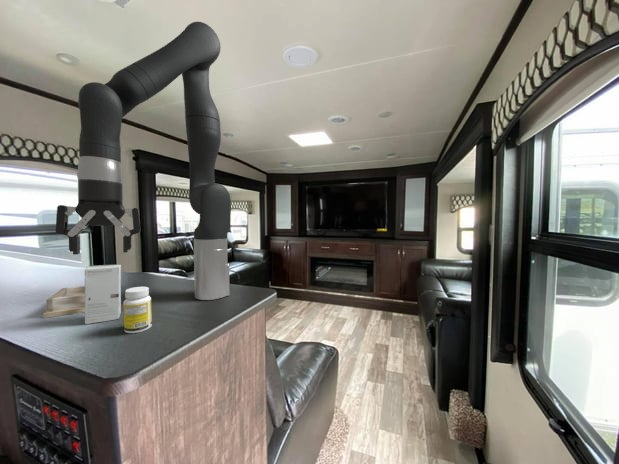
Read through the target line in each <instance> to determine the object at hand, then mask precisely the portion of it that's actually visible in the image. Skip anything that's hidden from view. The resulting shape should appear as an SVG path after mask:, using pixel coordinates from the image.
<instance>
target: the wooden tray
mask: <svg viewBox="0 0 619 464" xmlns="http://www.w3.org/2000/svg"><path fill="white" fill-rule="evenodd" d="M45 303H46V304H45V305H46V308H45V309H46V310H45V311H44V312H43V313H42V319H45V318H54V317H61V316H68V315H74V314H82V313H85V285H81V286H71V287H62V288H61V289H60V290H58V291H57V292H55V293H54V294H52V295H51V296H50V297H47V299H45Z"/></svg>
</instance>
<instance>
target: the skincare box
mask: <svg viewBox="0 0 619 464" xmlns="http://www.w3.org/2000/svg"><path fill="white" fill-rule="evenodd" d="M121 285H122V265H121V264H120V263H119V264H102V265H101V264H99V265H88V266H87V267H86V268H85V269H84V286H85V312H84V324H85V325H89V324H94V323H102V322H110V321H115V320H119V318H120V316H121V312H122V304H121V303H122V298H121V297H122V289H121V287H122V286H121Z"/></svg>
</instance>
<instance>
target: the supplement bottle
mask: <svg viewBox="0 0 619 464" xmlns="http://www.w3.org/2000/svg"><path fill="white" fill-rule="evenodd" d="M124 292H125V293H124V297H125V299H124V300H123V302H122V304H123V326H124V327H123V329H124V330H123V331H124V332H125V333H127V334H138V333H142V332H145V331H147V330H149V329H150V328H152V326H153V315H152V297H151V296H150V294H149V293H150V288H149V287H148V286H135V287H134V286H133V287H129V288H126V290H125V291H124Z"/></svg>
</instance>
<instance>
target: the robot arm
mask: <svg viewBox="0 0 619 464" xmlns="http://www.w3.org/2000/svg"><path fill="white" fill-rule="evenodd" d="M221 48H222V47H221V41H220V39H219V37H218V34H217V33H216V32H215V30H214V29H213V28H212V27H211V26H210V25H208V24H207V23H205V22H202V21H193V22H191V23H190V24H189V23H188V25H187V26H186V27H185V29H183V30H182V31H181V32H180V33H179V34H178V36H176V37H174V38H173V39H172V40H171V41H169V42H168V43H166V44H165V45H163V46H162V47H160V48H158V49H157V50H155V51H153V52H152V53H150V54H148V55H146V56H144V57H143V58H140V59H138V60H137V61H135V62H132V63H131V64H129V65H127V66H124V68H121V69H120V70H118V71H117V72H115V73H114V74H113V76H112V77H111V78H110V80H109V81H107V82H106V83H101V82H95V81H94V82H93V81H92V82H87V83H85V84H84V85H82V86H81V88H80V89H79V92H78V101H77V102H78V103H77V104H78V105H77V106H78V109H79V117H80V132H79V139H78V142H79V143H78V154H79V159H78V164H77V165H78V166H77V174H76V176H77V192H78V193H77V195H78V196H77V199H78V203H77V205H76V206H70V205H69V206H67V205H65V204H64V205H63V204H60V205H58V206H57V207H56V219H55V233H56V234H59V235H63V236H67V237H68V250H69V252H70V253H72V254H73V255H80V254H81V237H80V236H79V234H81V233H82V232H83V231H84V229H86V228H87V227H88V226H91V227H100V226H103V227H112V226H115V227H116V228H117V229H118V230H119V231H120V232H121V233H122V234H123V238H122V239H123V241H122V243H123V245H122V248H123V249H122V251H123V253H128V252H129V251H130V250H131V249H132V237H133V235H137V234H139V233H141V219H140V210H139V208H136V207H133V208H125V207H124V205H123V202H124V201H123V200H124V199H123V169H122V160H121V159H122V157H121V155H122V153H121V151H122V149H121V131H122V130H121V129H122V123H123V122H122V121H123V118H124V117H125V116H127V115H128V114H129V113H130V112H131V111H132V110H133V109H135V108H137V106H139V105H140V104H142V103H144V102H146V101H147V100H150V99H151V98H153V97H154V96H156V95H157V94H159V93H160V92H162V91H163V90H164V89H166V87H168V86H169V85H170V84H171V83H172V82H174V81H175V80H176V79H177V78H178V77H179V76H182V81H183V100H184V114H185V115H184V119H185V133H186V140H187V153H188V162H189V189H188V193H189V194H188V199H189V204H190V206H191V208H192V210H193V211H194V212H195V213H196V214H198V215H199V221H198V225H197V226H196V227H195V228H194V231H193V262H194V263H193V264H194V265H193V268H194V270H193V271H194V274H193V275H194V279H193V280H194V281H193V283H194V298H195V299H197V300H200V301H212V300H218V299H221V298H224V297H229V296H230V264H229V263H228V234H229V230H230V227H231V214H232V213H231V212H232V211H231V210H232V199H231V195H230V193H229V190H228V189H227V188H226V187H225V186H224V185H223V184H221V183H216V180H215V179H216V178H215V166H216V162H217V158H218V155H219V150H220V146H221V141H222V138H221V137H222V135H221V131H222V130H221V118H220V114H219V110H218V108H217V106H216V104H215V101H214V99H213V98H212V94H211V91H210V75H209V74H210V68H211V66H212V65H213V64H215V62H216V61H217V59H218V58H219V55H220V53H221ZM74 213H76V214H77V215H78V216H79V217H80V219H79V221H78V222H77V223H75V225H74V226H73V227H72V228H71V229H69V227H68V226H69V217H71V216H73V214H74ZM125 214H127V216H128V217H129V218H131V219H132V227H133V228H132V229H129V228H128V227H127V226H126V224H125V223H124V222H123V221H122V220H121V219H122V217H123V216H124V215H125Z"/></svg>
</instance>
